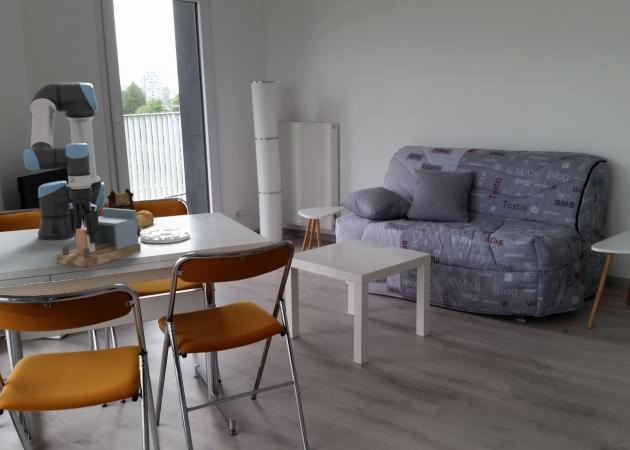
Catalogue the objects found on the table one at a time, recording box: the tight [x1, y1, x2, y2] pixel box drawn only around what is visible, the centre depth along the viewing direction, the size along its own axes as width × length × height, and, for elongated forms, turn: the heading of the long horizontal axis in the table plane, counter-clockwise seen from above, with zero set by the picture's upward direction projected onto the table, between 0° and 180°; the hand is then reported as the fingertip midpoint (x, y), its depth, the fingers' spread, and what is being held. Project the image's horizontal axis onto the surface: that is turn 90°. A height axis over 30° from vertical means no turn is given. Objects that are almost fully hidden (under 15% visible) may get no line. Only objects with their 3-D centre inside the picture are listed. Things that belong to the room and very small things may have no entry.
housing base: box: [55, 241, 142, 268], centre depth 234 cm, size 16×26×6 cm, turn 154°
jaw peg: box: [76, 226, 95, 255], centre depth 228 cm, size 4×4×10 cm
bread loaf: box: [136, 209, 155, 229], centre depth 293 cm, size 21×10×8 cm, turn 7°
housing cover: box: [82, 207, 139, 250], centre depth 239 cm, size 16×11×13 cm
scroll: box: [107, 188, 142, 237], centre depth 269 cm, size 15×15×20 cm
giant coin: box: [140, 227, 190, 244], centre depth 263 cm, size 20×20×3 cm
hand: (86, 250), depth 228 cm, fingers open, 4 cm apart
